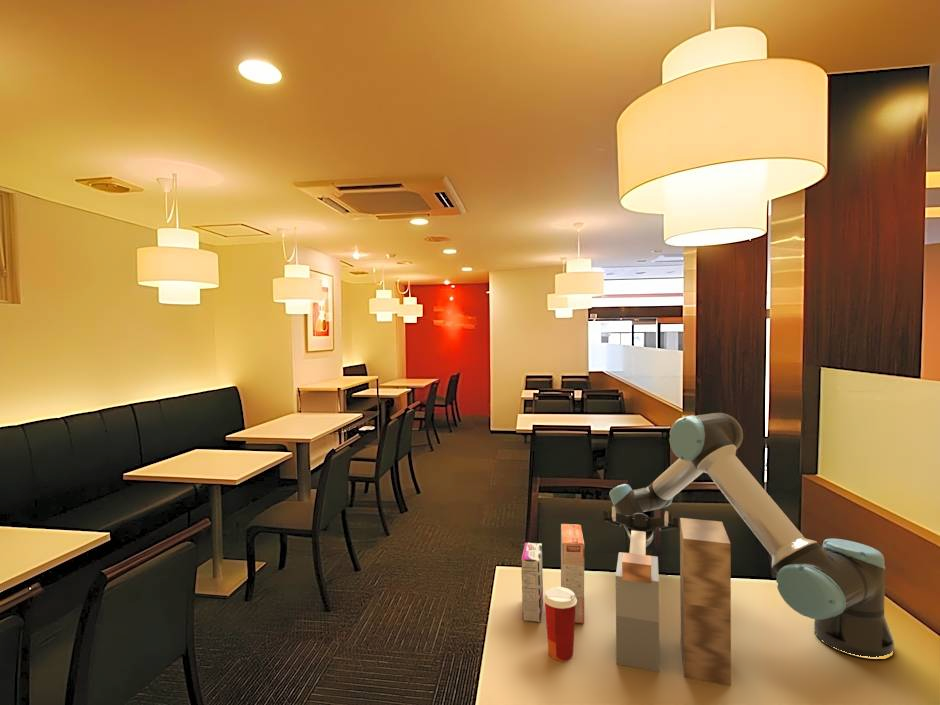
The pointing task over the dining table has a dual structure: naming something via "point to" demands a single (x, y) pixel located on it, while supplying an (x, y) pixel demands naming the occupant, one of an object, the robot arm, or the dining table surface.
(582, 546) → the cracker box
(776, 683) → the dining table surface
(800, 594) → the robot arm
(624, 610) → the short tower
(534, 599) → the candy bar box
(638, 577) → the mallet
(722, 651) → the tall tower
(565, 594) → the paper cup
